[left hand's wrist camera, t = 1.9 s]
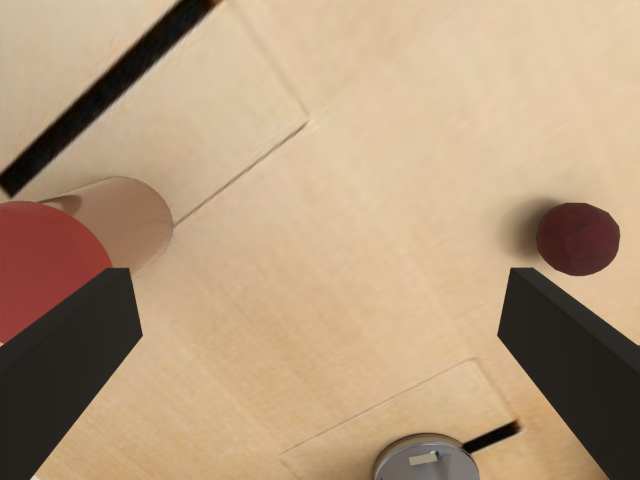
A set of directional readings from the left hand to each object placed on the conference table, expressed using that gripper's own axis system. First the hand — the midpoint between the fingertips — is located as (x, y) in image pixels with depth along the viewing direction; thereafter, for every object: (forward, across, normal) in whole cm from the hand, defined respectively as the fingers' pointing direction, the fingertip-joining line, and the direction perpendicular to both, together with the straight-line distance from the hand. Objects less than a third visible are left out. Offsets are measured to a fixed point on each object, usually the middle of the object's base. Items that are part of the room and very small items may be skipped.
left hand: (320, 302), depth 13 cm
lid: (+12, -22, -6) cm, 26 cm away
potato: (+28, +27, -6) cm, 39 cm away
